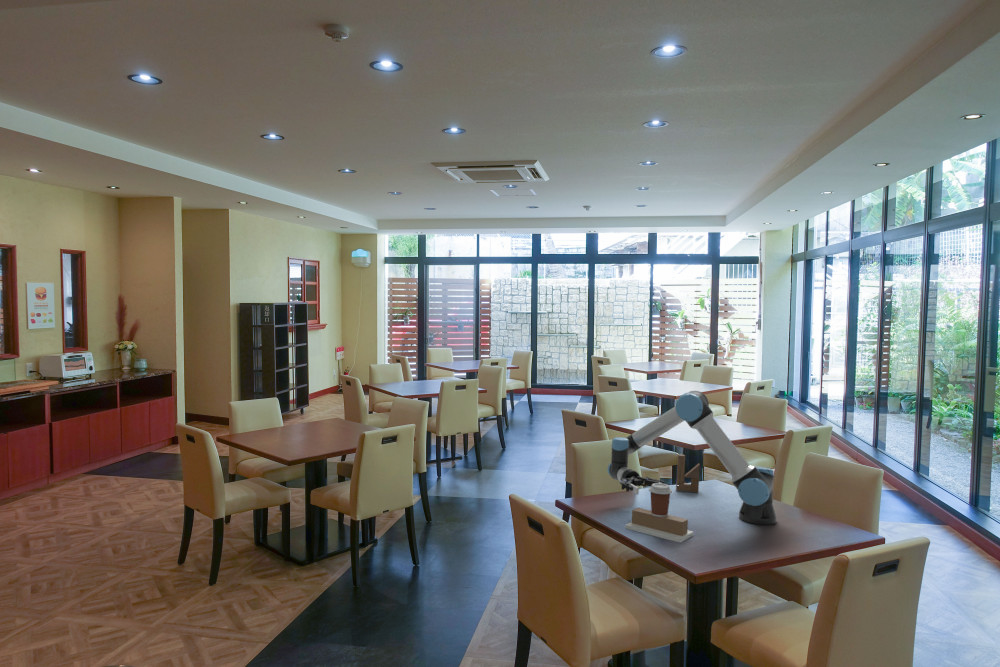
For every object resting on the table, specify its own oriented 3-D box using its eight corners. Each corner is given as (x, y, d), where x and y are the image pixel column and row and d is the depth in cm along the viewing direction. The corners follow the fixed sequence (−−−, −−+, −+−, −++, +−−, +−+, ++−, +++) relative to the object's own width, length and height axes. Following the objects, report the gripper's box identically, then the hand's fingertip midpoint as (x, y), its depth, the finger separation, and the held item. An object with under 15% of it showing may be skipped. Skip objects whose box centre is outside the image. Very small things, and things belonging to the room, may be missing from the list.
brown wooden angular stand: (698, 492, 324) (699, 457, 324) (676, 490, 327) (677, 455, 326) (698, 491, 328) (699, 455, 327) (676, 489, 330) (677, 454, 330)
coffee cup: (643, 512, 265) (644, 483, 265) (660, 510, 270) (661, 481, 269) (658, 519, 257) (659, 489, 257) (675, 516, 261) (677, 487, 261)
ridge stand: (693, 535, 260) (693, 518, 260) (680, 542, 251) (681, 524, 251) (639, 521, 276) (639, 505, 276) (625, 528, 267) (625, 511, 266)
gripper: (653, 484, 293) (678, 497, 273) (602, 486, 286) (624, 500, 266) (654, 468, 293) (679, 480, 272) (603, 470, 286) (625, 482, 266)
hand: (652, 490), depth 269 cm, fingers open, 13 cm apart
